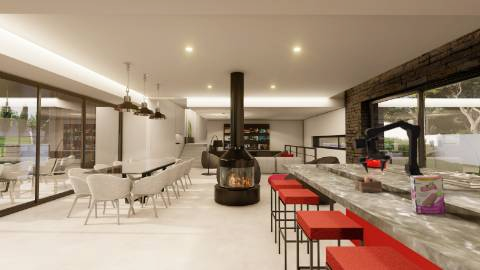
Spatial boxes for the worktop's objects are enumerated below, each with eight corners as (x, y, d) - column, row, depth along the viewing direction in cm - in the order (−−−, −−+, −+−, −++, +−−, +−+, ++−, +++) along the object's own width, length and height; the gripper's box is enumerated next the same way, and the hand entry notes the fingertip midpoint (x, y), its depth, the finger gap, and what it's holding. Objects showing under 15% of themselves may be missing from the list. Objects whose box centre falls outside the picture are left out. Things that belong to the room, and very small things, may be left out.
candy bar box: (416, 214, 112) (413, 177, 113) (412, 211, 117) (409, 175, 117) (446, 214, 109) (442, 176, 110) (440, 211, 114) (437, 174, 114)
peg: (366, 189, 167) (365, 177, 167) (371, 189, 165) (370, 177, 165) (364, 190, 165) (363, 177, 165) (370, 190, 163) (369, 178, 163)
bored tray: (355, 188, 171) (354, 179, 171) (373, 187, 170) (372, 178, 170) (362, 192, 159) (361, 182, 159) (382, 191, 158) (381, 181, 158)
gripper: (362, 149, 156) (364, 175, 156) (393, 146, 155) (396, 172, 155) (355, 149, 168) (358, 172, 167) (384, 146, 166) (387, 170, 166)
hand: (374, 172), depth 163 cm, fingers open, 9 cm apart
